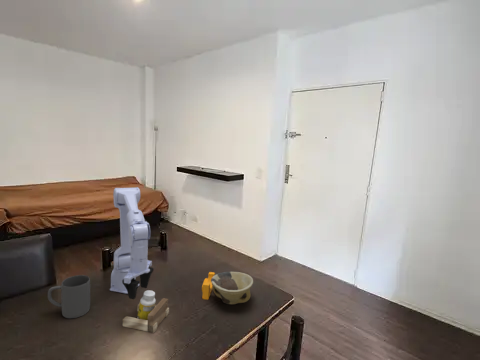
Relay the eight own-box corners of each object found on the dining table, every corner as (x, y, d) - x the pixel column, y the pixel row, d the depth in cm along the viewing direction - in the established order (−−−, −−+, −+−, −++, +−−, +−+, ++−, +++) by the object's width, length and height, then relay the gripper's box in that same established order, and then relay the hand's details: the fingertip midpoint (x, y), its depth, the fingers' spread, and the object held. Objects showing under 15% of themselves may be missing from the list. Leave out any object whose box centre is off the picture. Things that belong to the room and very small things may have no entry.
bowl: (258, 296, 120) (259, 275, 119) (240, 318, 104) (242, 295, 102) (222, 285, 127) (223, 265, 126) (201, 304, 111) (202, 282, 110)
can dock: (122, 326, 95) (122, 310, 95) (140, 308, 106) (140, 293, 105) (154, 332, 93) (154, 316, 92) (168, 313, 104) (169, 299, 103)
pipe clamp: (205, 284, 127) (205, 271, 126) (214, 285, 127) (214, 272, 126) (198, 298, 115) (198, 284, 114) (208, 300, 115) (209, 285, 114)
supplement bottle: (137, 313, 101) (142, 288, 101) (152, 314, 103) (157, 289, 102) (136, 322, 96) (141, 296, 95) (151, 323, 98) (157, 297, 97)
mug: (92, 302, 107) (92, 274, 106) (87, 317, 99) (86, 286, 97) (52, 306, 104) (52, 276, 102) (43, 321, 95) (42, 289, 93)
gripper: (137, 267, 89) (137, 305, 91) (159, 250, 103) (158, 284, 105) (118, 264, 91) (118, 302, 92) (142, 248, 105) (141, 281, 107)
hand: (138, 292), depth 99 cm, fingers open, 7 cm apart
